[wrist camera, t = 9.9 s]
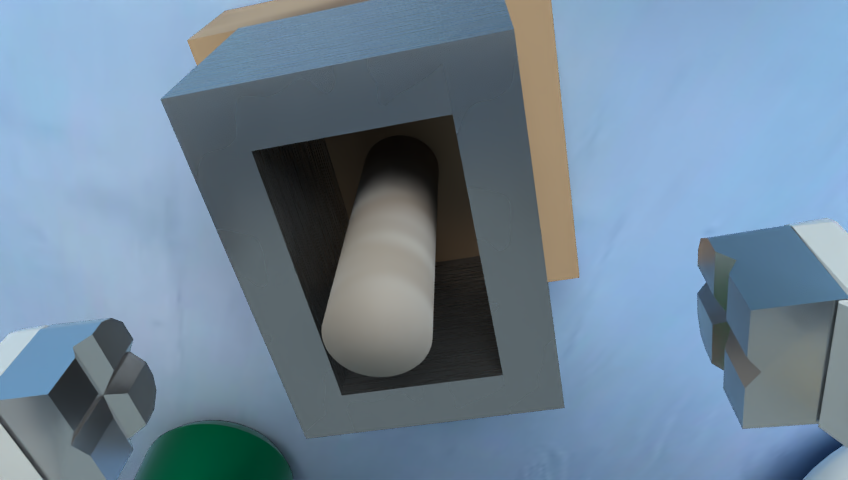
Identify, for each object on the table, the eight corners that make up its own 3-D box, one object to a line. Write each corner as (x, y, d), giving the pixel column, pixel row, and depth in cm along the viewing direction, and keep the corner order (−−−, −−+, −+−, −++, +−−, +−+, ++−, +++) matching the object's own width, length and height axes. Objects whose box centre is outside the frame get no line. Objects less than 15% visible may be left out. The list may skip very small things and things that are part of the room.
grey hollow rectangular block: (238, 28, 13) (160, 98, 9) (496, -27, 12) (514, 29, 9) (336, 311, 16) (306, 438, 13) (539, 282, 16) (564, 407, 12)
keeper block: (532, -56, 14) (609, 49, 7) (563, 223, 18) (635, 469, 11) (224, 11, 15) (36, 159, 8) (313, 263, 19) (233, 512, 12)
